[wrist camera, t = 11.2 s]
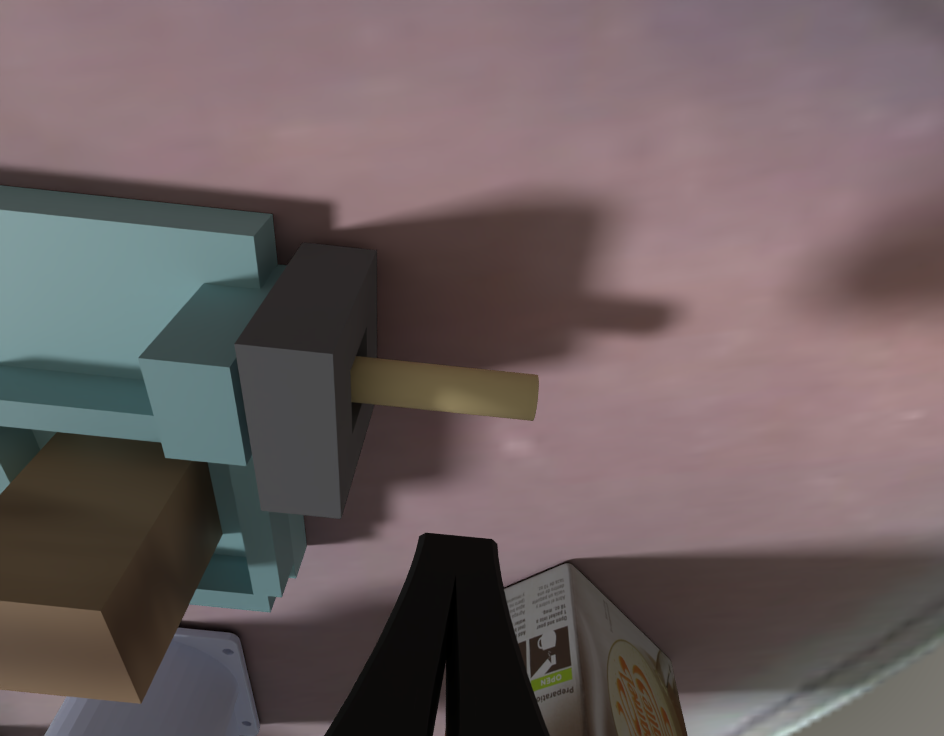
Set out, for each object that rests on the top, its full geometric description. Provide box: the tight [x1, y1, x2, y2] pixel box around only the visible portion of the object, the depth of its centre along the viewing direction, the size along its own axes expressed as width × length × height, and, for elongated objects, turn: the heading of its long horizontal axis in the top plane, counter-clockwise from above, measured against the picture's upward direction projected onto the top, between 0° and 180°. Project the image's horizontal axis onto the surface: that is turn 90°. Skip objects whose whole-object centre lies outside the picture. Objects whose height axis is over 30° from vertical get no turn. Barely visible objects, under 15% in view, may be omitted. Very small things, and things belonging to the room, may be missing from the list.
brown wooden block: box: [0, 432, 223, 704], centre depth 18 cm, size 4×4×6 cm
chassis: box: [0, 185, 539, 612], centre depth 19 cm, size 14×16×5 cm
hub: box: [234, 243, 377, 519], centre depth 16 cm, size 5×2×5 cm, turn 175°
